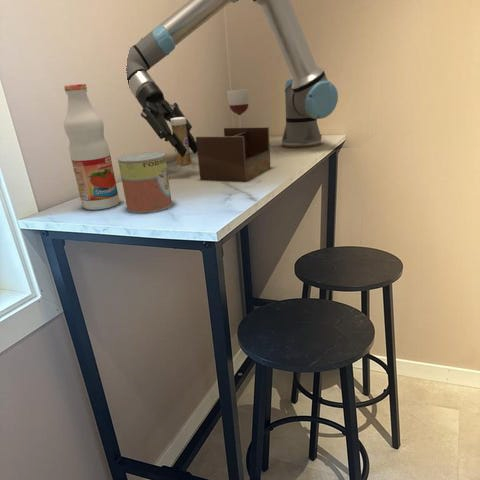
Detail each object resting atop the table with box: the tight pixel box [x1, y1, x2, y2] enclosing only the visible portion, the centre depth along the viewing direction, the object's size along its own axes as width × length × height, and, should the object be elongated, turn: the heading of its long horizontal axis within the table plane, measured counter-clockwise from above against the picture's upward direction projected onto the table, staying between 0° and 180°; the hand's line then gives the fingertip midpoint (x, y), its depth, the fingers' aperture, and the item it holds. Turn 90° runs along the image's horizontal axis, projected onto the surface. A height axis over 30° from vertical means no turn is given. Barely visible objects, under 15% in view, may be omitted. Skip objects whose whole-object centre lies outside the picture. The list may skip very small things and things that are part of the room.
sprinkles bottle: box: [170, 116, 192, 167], centre depth 139 cm, size 5×5×14 cm
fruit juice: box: [63, 83, 120, 211], centre depth 113 cm, size 9×9×28 cm
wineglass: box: [226, 88, 250, 128], centre depth 185 cm, size 8×9×20 cm
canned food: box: [117, 151, 173, 214], centre depth 112 cm, size 11×11×12 cm
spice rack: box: [195, 126, 271, 183], centre depth 138 cm, size 18×15×12 cm
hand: (190, 151), depth 138 cm, fingers closed on sprinkles bottle, 4 cm apart
